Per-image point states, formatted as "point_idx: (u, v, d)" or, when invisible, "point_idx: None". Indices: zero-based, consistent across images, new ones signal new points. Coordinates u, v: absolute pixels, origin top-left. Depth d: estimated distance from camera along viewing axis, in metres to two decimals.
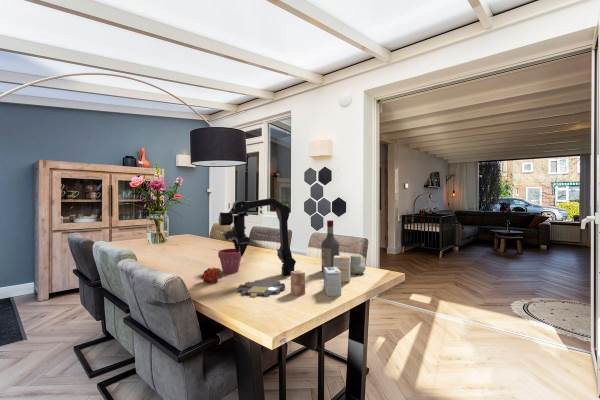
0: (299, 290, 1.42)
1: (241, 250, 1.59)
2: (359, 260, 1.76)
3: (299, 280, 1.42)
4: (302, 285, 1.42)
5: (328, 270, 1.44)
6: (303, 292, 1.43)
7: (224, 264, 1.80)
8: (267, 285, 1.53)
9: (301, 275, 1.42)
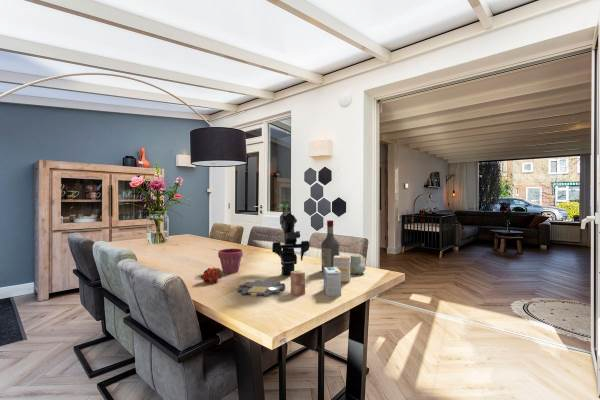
0: (299, 290, 1.42)
1: (303, 254, 1.54)
2: (359, 260, 1.76)
3: (299, 280, 1.42)
4: (302, 285, 1.42)
5: (328, 270, 1.44)
6: (303, 292, 1.43)
7: (224, 264, 1.80)
8: (267, 285, 1.53)
9: (301, 275, 1.42)
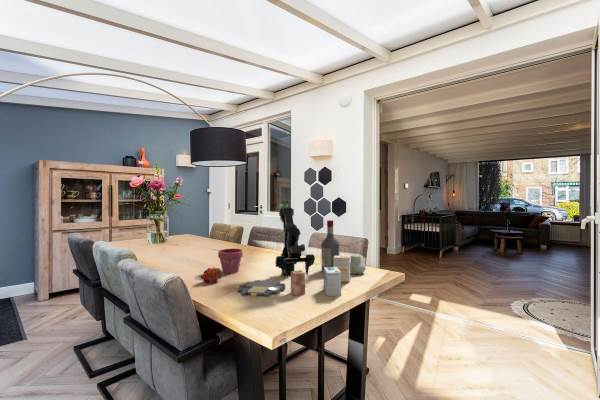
0: (299, 290, 1.42)
1: (308, 269, 1.47)
2: (359, 260, 1.76)
3: (299, 280, 1.42)
4: (302, 285, 1.42)
5: (328, 270, 1.44)
6: (303, 292, 1.43)
7: (224, 264, 1.80)
8: (267, 285, 1.53)
9: (301, 275, 1.42)
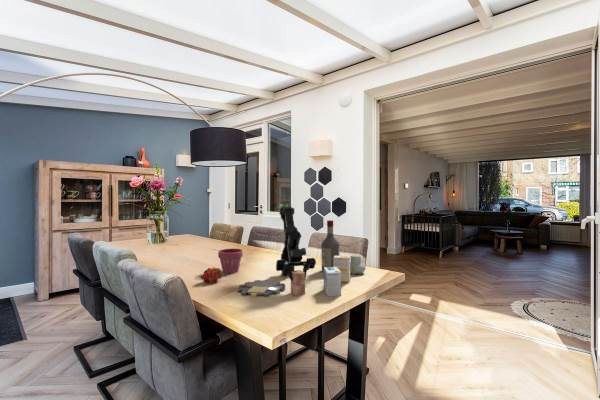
0: (299, 290, 1.42)
1: None
2: (359, 260, 1.76)
3: (299, 280, 1.42)
4: (302, 285, 1.42)
5: (328, 270, 1.44)
6: (303, 292, 1.43)
7: (224, 264, 1.80)
8: (267, 285, 1.53)
9: (301, 275, 1.42)
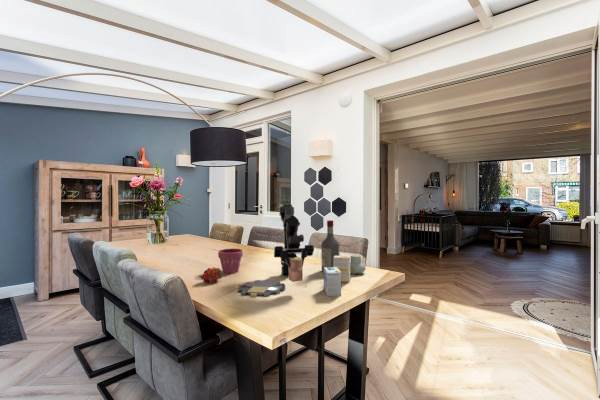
0: (296, 276, 1.41)
1: (303, 260, 1.45)
2: (359, 260, 1.76)
3: (296, 266, 1.41)
4: (300, 272, 1.42)
5: (328, 270, 1.44)
6: (301, 278, 1.42)
7: (224, 264, 1.80)
8: (267, 285, 1.53)
9: (299, 261, 1.42)
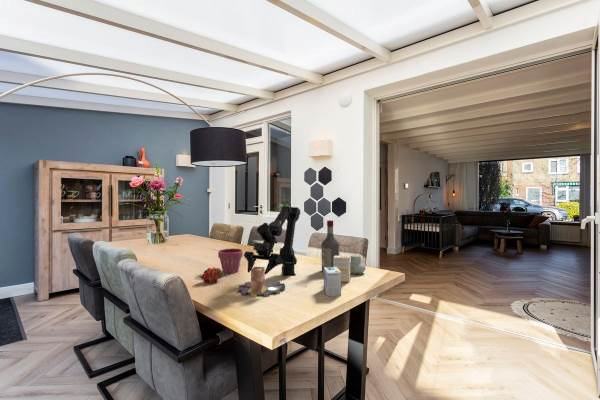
0: (255, 286, 1.44)
1: (268, 268, 1.44)
2: (359, 260, 1.76)
3: (254, 276, 1.44)
4: (258, 282, 1.44)
5: (328, 270, 1.44)
6: (259, 289, 1.44)
7: (224, 264, 1.80)
8: (267, 285, 1.53)
9: (257, 272, 1.44)
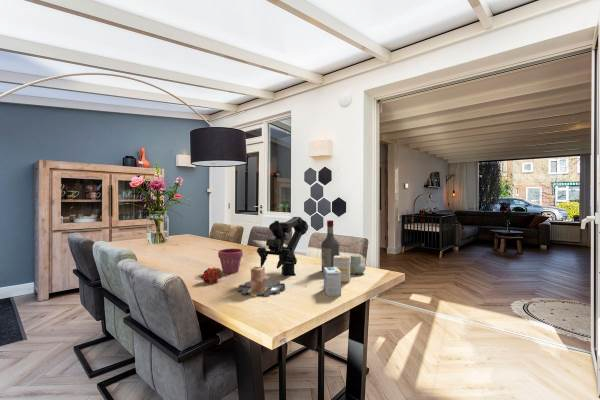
0: (255, 286, 1.44)
1: (280, 262, 1.55)
2: (359, 260, 1.76)
3: (254, 276, 1.44)
4: (258, 282, 1.44)
5: (328, 270, 1.44)
6: (259, 289, 1.44)
7: (224, 264, 1.80)
8: (267, 285, 1.53)
9: (257, 272, 1.44)
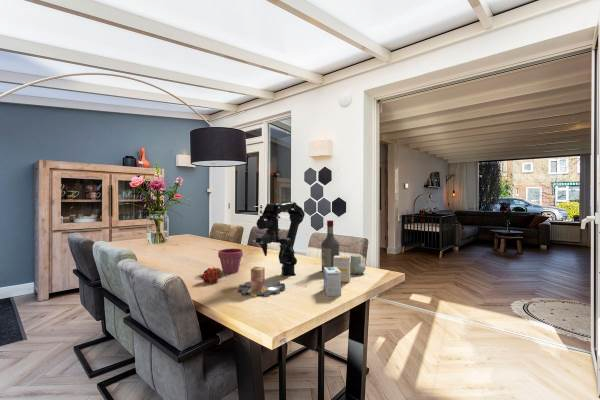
0: (255, 286, 1.44)
1: (282, 252, 1.62)
2: (359, 260, 1.76)
3: (254, 276, 1.44)
4: (258, 282, 1.44)
5: (328, 270, 1.44)
6: (259, 289, 1.44)
7: (224, 264, 1.80)
8: (267, 285, 1.53)
9: (257, 272, 1.44)
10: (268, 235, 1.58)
